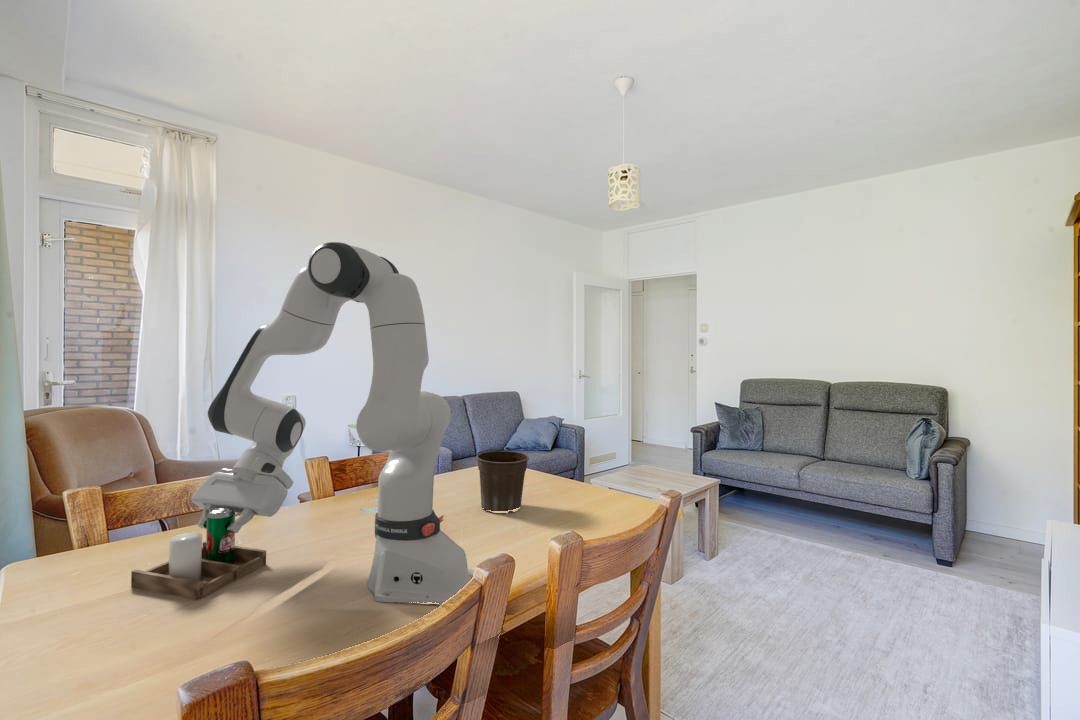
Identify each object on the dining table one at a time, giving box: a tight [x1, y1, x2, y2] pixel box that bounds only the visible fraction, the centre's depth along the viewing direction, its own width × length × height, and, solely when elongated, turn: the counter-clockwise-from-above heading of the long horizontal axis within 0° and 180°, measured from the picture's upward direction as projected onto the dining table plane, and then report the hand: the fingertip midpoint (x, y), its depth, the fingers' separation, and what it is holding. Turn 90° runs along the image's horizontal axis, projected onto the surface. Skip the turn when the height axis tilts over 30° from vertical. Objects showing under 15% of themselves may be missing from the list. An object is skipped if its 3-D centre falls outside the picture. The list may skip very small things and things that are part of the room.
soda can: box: [205, 507, 236, 564], centre depth 104 cm, size 5×5×12 cm
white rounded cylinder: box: [168, 532, 203, 581], centre depth 96 cm, size 5×5×9 cm
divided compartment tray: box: [130, 540, 267, 601], centre depth 100 cm, size 16×16×4 cm
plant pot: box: [476, 450, 530, 511], centre depth 152 cm, size 16×16×16 cm
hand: (216, 529), depth 103 cm, fingers open, 6 cm apart
